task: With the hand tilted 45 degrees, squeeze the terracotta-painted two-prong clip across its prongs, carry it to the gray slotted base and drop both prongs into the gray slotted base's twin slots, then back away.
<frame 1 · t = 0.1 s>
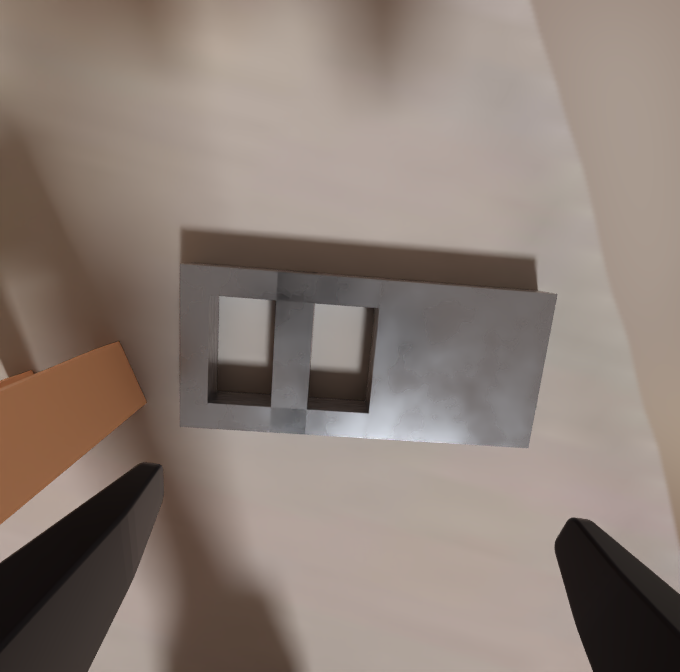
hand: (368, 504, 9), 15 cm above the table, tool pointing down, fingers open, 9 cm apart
gray slotted base: (395, 355, 24), on the table
clip: (78, 390, 24), on the table
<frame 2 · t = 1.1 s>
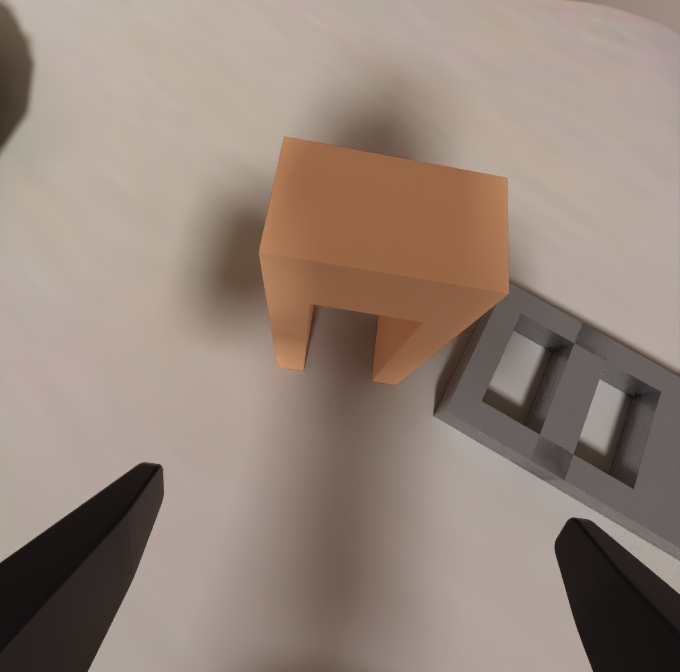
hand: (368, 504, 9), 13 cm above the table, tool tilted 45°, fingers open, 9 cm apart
gray slotted base: (643, 454, 24), on the table
clip: (342, 343, 24), on the table
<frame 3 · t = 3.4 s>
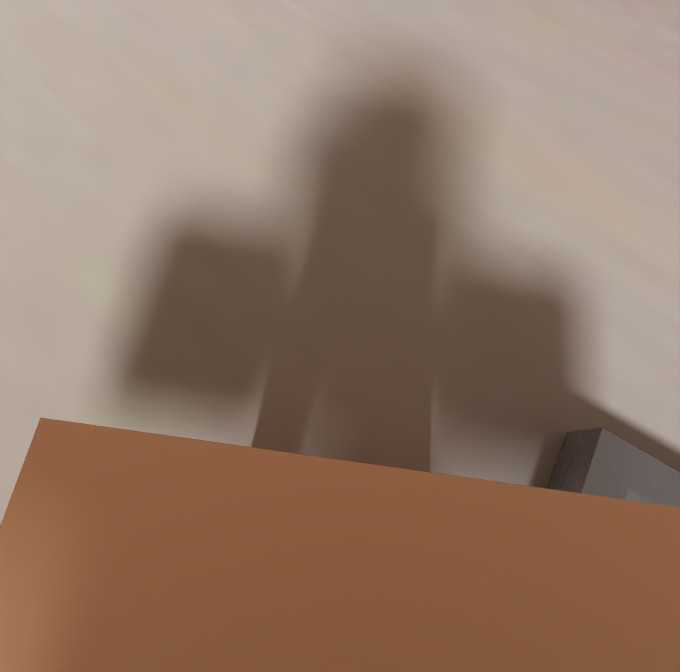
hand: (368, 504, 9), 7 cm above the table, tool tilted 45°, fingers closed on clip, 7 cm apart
clip: (332, 530, 15), on the table, touching gripper
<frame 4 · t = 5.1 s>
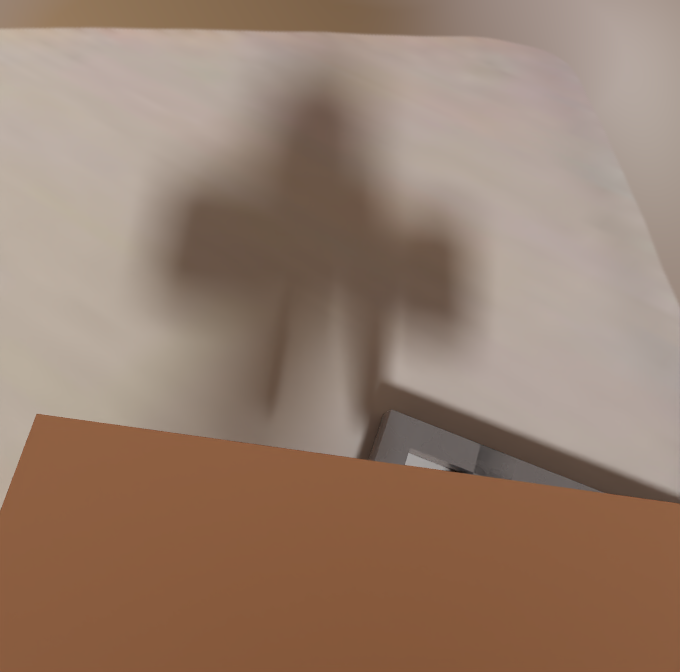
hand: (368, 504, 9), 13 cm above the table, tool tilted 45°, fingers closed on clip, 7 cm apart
gray slotted base: (567, 576, 21), on the table
clip: (331, 530, 15), point 7 cm above the table, touching gripper
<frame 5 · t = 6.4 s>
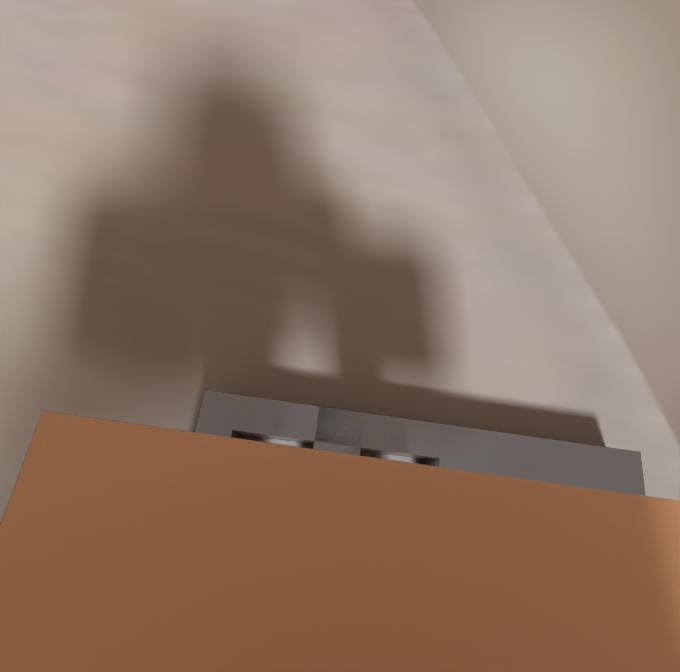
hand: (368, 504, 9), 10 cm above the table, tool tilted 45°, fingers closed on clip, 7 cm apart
gray slotted base: (453, 531, 19), on the table
clip: (332, 529, 15), point 4 cm above the table, touching gripper
when the fingers open (9 cm above the table, at t = 7.3 s): clip drops 2 cm, resting in gray slotted base.
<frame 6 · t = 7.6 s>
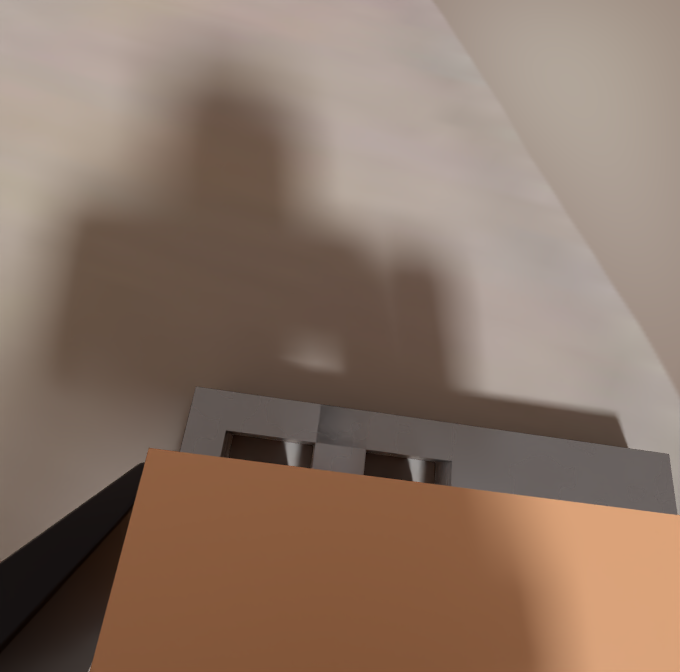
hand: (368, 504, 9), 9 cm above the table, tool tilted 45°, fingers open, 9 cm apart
gray slotted base: (466, 540, 17), on the table
clip: (328, 522, 17), resting in gray slotted base
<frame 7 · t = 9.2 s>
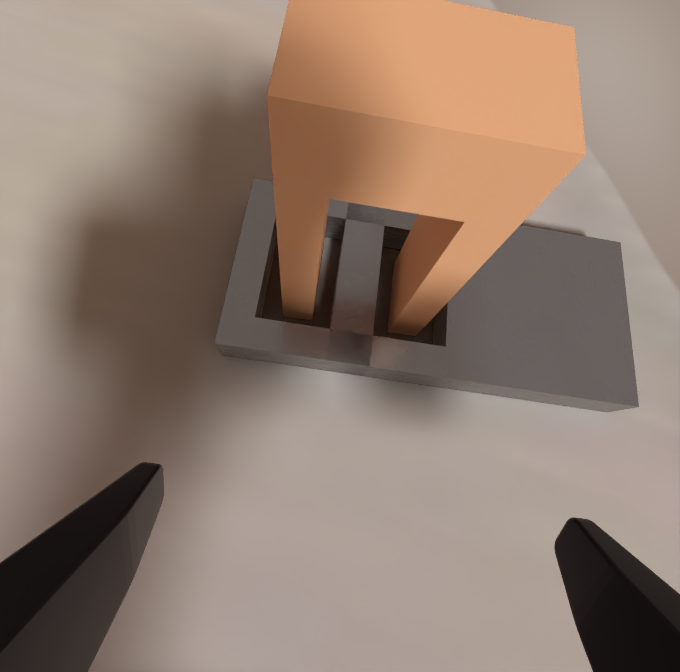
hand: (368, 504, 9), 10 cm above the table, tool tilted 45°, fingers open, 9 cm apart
gray slotted base: (461, 308, 22), on the table
clip: (354, 291, 22), resting in gray slotted base
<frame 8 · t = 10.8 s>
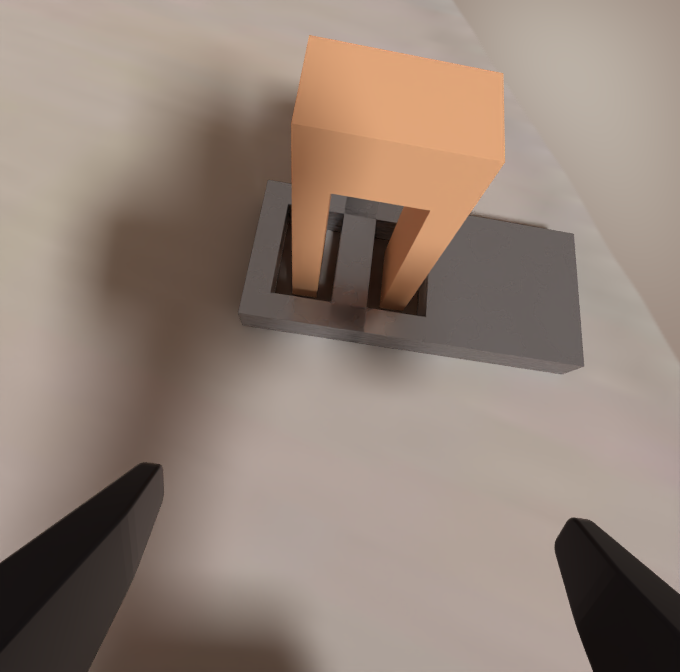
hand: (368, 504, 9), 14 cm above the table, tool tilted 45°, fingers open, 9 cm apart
gray slotted base: (441, 289, 26), on the table
clip: (351, 274, 26), resting in gray slotted base
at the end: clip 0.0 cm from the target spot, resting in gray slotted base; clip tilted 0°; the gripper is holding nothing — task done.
